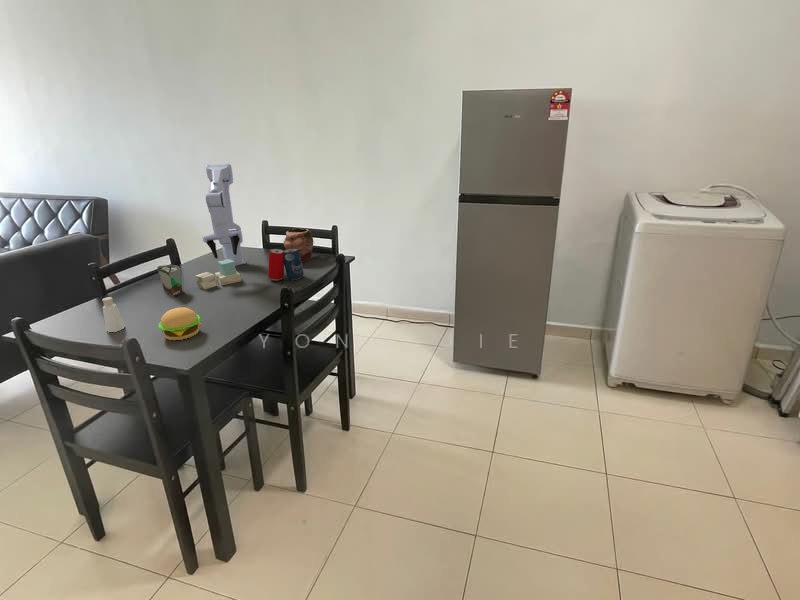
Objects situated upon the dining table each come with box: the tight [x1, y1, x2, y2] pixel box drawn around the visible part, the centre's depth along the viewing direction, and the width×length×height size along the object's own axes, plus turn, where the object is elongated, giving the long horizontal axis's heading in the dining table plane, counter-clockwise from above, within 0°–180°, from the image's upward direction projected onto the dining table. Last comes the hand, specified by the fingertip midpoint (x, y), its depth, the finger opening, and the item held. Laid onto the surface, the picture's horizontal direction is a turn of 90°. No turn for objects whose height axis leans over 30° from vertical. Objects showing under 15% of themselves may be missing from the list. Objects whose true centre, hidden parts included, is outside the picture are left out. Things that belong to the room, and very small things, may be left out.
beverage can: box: [267, 248, 285, 281], centre depth 185 cm, size 6×6×12 cm
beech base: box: [214, 270, 242, 286], centre depth 188 cm, size 8×8×4 cm
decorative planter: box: [282, 228, 314, 263], centre depth 211 cm, size 20×12×14 cm, turn 164°
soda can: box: [283, 248, 304, 281], centre depth 187 cm, size 7×7×12 cm
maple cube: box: [195, 271, 217, 290], centre depth 182 cm, size 5×5×5 cm
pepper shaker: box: [101, 296, 126, 333], centre depth 145 cm, size 5×5×11 cm
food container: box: [157, 264, 184, 298], centre depth 176 cm, size 12×6×10 cm, turn 47°
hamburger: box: [158, 306, 202, 342], centre depth 142 cm, size 12×12×9 cm
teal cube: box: [217, 259, 237, 276], centre depth 186 cm, size 5×5×5 cm
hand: (225, 256), depth 185 cm, fingers open, 7 cm apart
